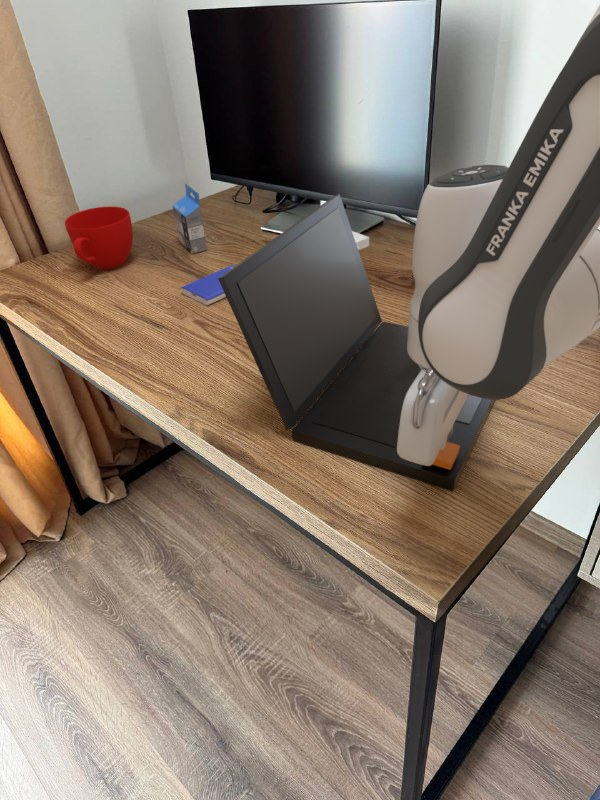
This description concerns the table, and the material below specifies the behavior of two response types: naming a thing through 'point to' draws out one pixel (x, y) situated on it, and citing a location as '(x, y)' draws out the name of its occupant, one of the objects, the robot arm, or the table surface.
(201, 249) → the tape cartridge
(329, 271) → the laptop screen
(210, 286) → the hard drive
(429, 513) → the table surface
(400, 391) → the laptop
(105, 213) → the ceramic cup
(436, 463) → the key amber
